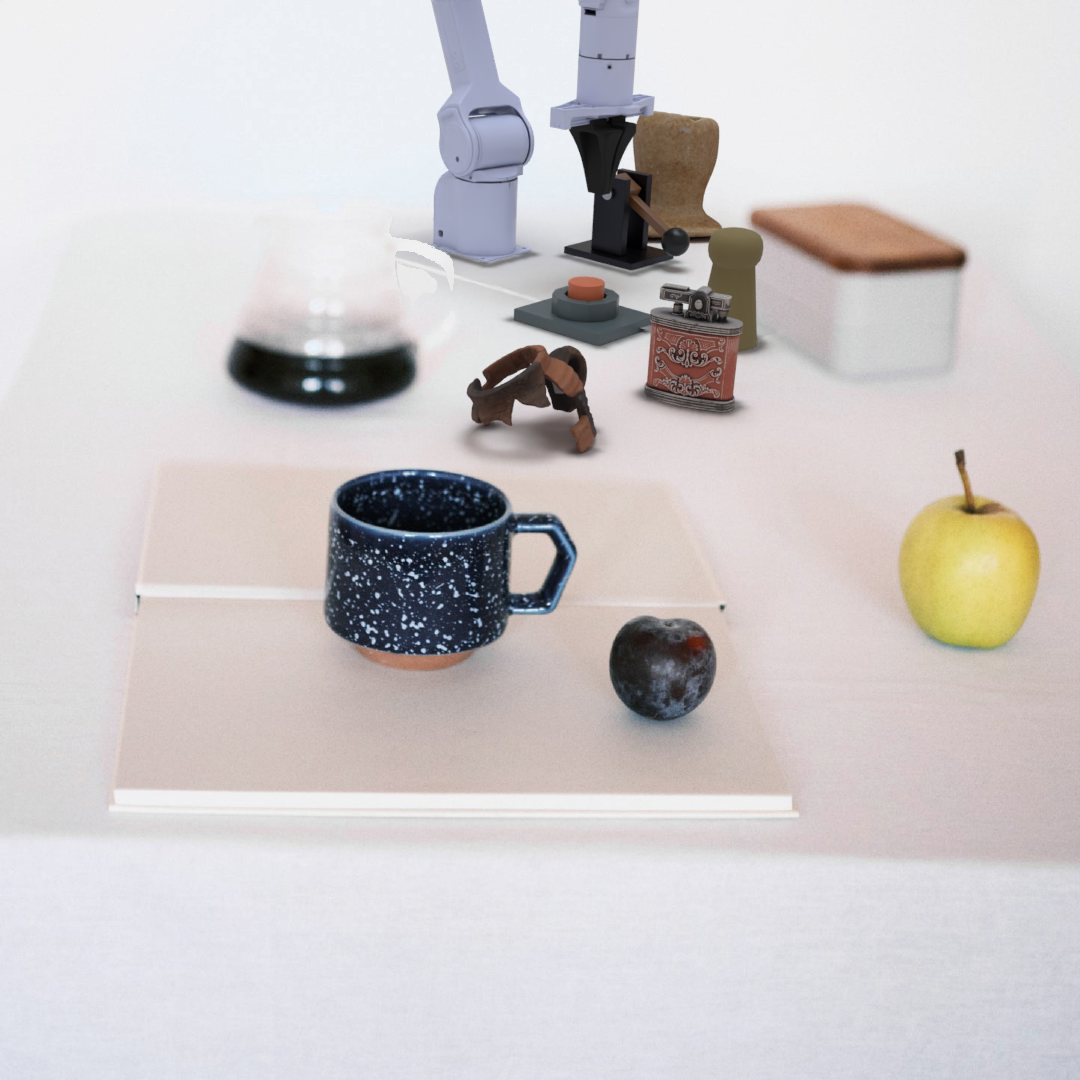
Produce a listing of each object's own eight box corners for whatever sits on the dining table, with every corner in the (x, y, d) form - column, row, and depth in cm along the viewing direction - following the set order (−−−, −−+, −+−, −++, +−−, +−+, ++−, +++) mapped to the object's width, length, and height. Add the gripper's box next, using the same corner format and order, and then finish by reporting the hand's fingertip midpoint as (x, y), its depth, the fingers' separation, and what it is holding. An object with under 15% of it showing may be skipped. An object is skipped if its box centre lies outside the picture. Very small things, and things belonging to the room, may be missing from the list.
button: (560, 297, 136) (560, 280, 135) (583, 291, 139) (584, 274, 138) (588, 306, 134) (589, 288, 133) (611, 298, 137) (612, 281, 136)
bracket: (673, 262, 160) (680, 176, 156) (631, 274, 155) (637, 186, 150) (606, 245, 166) (611, 162, 161) (563, 256, 160) (567, 171, 156)
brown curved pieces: (579, 474, 105) (527, 385, 102) (486, 495, 111) (434, 412, 108) (636, 390, 113) (590, 305, 110) (547, 414, 119) (500, 334, 116)
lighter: (738, 402, 119) (751, 290, 115) (726, 415, 116) (739, 300, 112) (652, 386, 122) (660, 275, 118) (638, 397, 119) (646, 284, 115)
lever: (686, 259, 156) (700, 237, 154) (669, 264, 154) (683, 242, 151) (617, 191, 159) (629, 169, 157) (600, 195, 157) (612, 172, 155)
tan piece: (706, 223, 178) (717, 103, 171) (728, 247, 167) (741, 120, 160) (590, 222, 176) (597, 100, 169) (605, 246, 165) (613, 117, 158)
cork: (737, 356, 130) (749, 241, 126) (683, 341, 134) (693, 229, 129) (768, 341, 135) (781, 229, 130) (715, 328, 138) (726, 218, 133)
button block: (513, 320, 138) (514, 290, 136) (571, 302, 144) (572, 274, 143) (598, 346, 131) (600, 316, 130) (655, 327, 138) (657, 297, 136)
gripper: (592, 66, 131) (584, 209, 137) (681, 55, 140) (670, 189, 147) (536, 57, 135) (531, 197, 141) (627, 47, 145) (618, 178, 151)
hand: (598, 192), depth 144 cm, fingers closed
